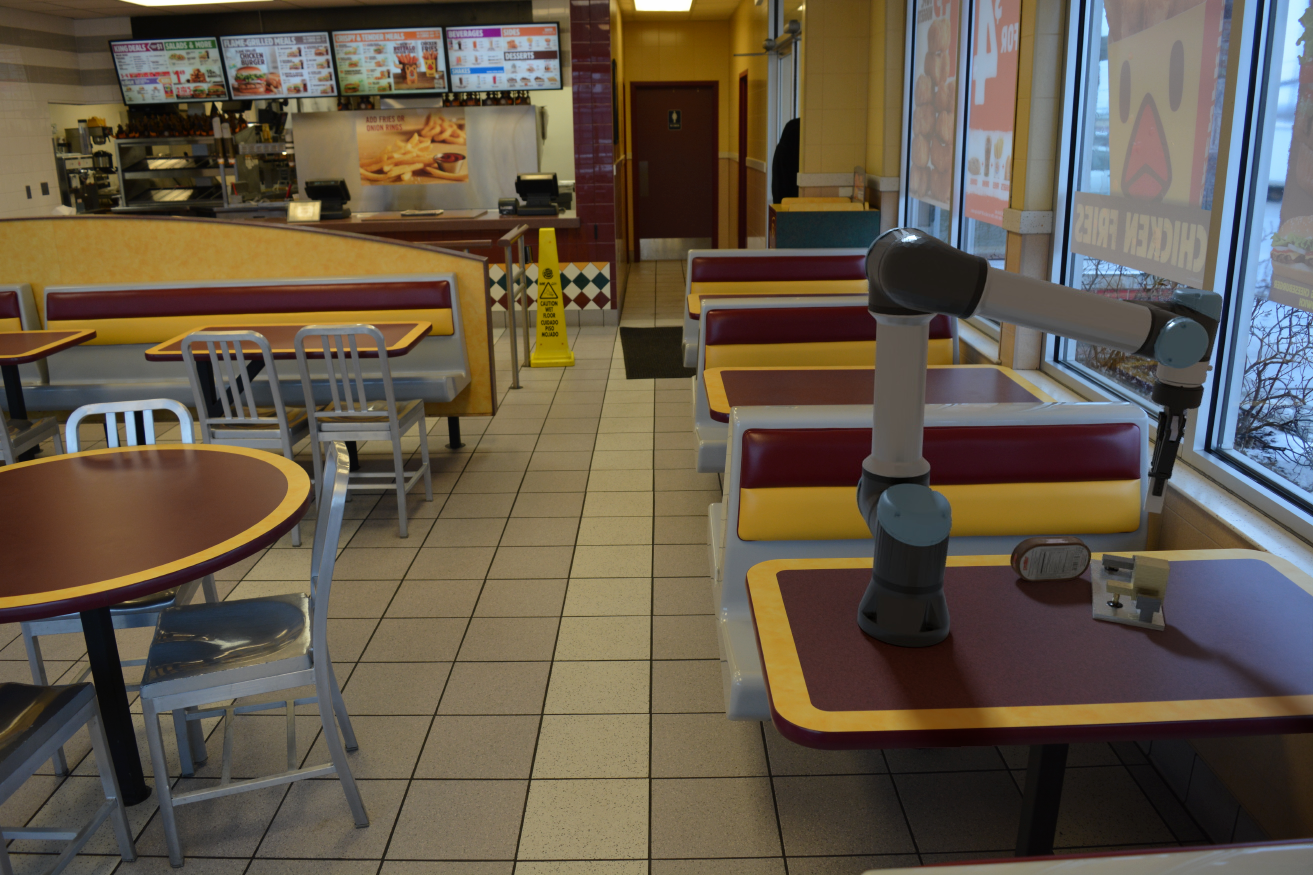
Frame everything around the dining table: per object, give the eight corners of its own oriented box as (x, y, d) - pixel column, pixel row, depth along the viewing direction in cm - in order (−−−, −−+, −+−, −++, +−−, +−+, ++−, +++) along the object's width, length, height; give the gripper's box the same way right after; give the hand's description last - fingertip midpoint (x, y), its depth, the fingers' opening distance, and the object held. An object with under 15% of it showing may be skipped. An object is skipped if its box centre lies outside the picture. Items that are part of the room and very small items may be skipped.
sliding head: (1104, 606, 167) (1112, 559, 164) (1103, 597, 170) (1111, 551, 168) (1160, 616, 164) (1169, 569, 161) (1158, 606, 167) (1167, 559, 164)
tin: (1081, 573, 183) (1087, 533, 180) (1090, 581, 180) (1097, 540, 177) (1006, 577, 181) (1012, 536, 178) (1014, 584, 178) (1020, 543, 175)
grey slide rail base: (1104, 614, 165) (1108, 590, 163) (1100, 560, 186) (1104, 538, 185) (1156, 624, 162) (1161, 599, 160) (1147, 567, 183) (1151, 545, 182)
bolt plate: (1092, 618, 166) (1093, 612, 165) (1090, 563, 187) (1091, 558, 187) (1163, 631, 162) (1164, 625, 161) (1153, 573, 183) (1154, 568, 183)
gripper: (1209, 393, 155) (1179, 527, 162) (1200, 376, 166) (1172, 502, 174) (1158, 387, 157) (1130, 519, 165) (1152, 370, 169) (1126, 495, 176)
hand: (1152, 510), depth 169 cm, fingers closed
